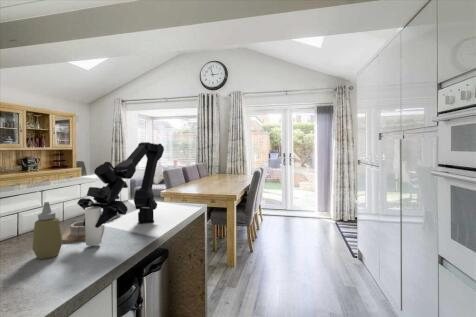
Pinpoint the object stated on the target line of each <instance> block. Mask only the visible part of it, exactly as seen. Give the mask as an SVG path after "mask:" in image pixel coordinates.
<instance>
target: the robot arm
mask: <svg viewBox="0 0 476 317" xmlns="http://www.w3.org/2000/svg"><path fill="white" fill-rule="evenodd" d="M164 151H165V148H164V145H162V143H151V142H149V141H148V142H147V141H145V142H144V141H142V142H139V143H138V145H137V146H136V148H135V149H134V150H133V151H132V152H131V153H130V155H129V156H128V157H127V158H126V159H125V160H123V161H120V162H119V163H118V164H116V165H115V166H113V164H112V163H111V162H110V161H104V163H102V164H99V165H98V166H97V167H95V169H94V175H95V176H96V177H97V178H98V179H99V180H100V181H101V182H102V183H103V184H105V186H102V187H95V186H94V187H93V186H90V187H88V191H87V193H86V197H88V198H86V197H82V198H80V199H79V200H78V201H77V203H76V204H77V205H78V206H79V207H81V209H83V210H84V211H85V208H88V207H95V206H98V207H101V209H102V208H103V212H102V214H101V216H100V218H99V220H98V221H97V223H96V226H95V227H96V228H98V227H100V226H101V225H105V223H107V222H108V220H110V219H111V218H113V217H114V216H117V215H118V214H117V212H118V213H119V214H121V216H123V215H124V216H125V215H126V214H127V213H128V209H129V208H128V206H127V205H126V204H125V203H124V202H123V201H122V200H119V199H120V198H121V197H120V196H119V195H120V193H121V191H122V190H123V189H127V188H128V183H127V181H125V180H130V179H133V177H134V175H135V173H136V171H137V166H138V165H139V163H140V162H141V161H142V159H143V158H144V157H145V156H146V164H145V167H144V168H145V169H144V171H143V172H144V173H143V177H142V182H141V185H140V188H139V189H136V190H135V193H134V196H133V203H134V204H133V205H134V207H135V210H139V211H138V213H137V221H138V222H139V224H149V223H154V222H155V220H154V210H156V209H157V207H158V203H157V201H155V199H154V197H155V194H154V191H153V190H152V189H153V185H154V180H155V176H156V171H157V166H158V162H159V160H161V158H162V157H163V154H164ZM124 179H125V180H124ZM89 197H92V198H93V200H92V199H91V198H89ZM94 201H95V202H94ZM83 221H84V223H83V226H85V217H84V220H83ZM110 221H111V220H110Z"/></svg>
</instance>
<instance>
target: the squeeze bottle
mask: <svg viewBox="0 0 476 317" xmlns="http://www.w3.org/2000/svg"><path fill="white" fill-rule="evenodd" d="M62 236H63V235H62V230H61V224H60V219H59V218H58V217H56V211H52V208H51V205H50V202H49V201H45V202H43V207H42V210H41V212H40V213H38V214H37V220H36V221H34V227H33V239H32V251H33V252H34V254H35V256H36V258H37V259H39V260H45V259H46V260H47V259H50V258H54V257H56V256H58V255H59V254H60V252H61V248H62V246H63V243H62Z"/></svg>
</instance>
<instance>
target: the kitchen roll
mask: <svg viewBox="0 0 476 317" xmlns="http://www.w3.org/2000/svg"><path fill="white" fill-rule="evenodd" d="M101 209H102V208H101V207H98V206H95V207H88V208H85V210H84V218H85V233H86V240H85V246H86V247H93V246H98V245H101V244H102V238H101V226H100V227H98V228H96V227H95V226H96V223H97V221H98V220H99V218H100V216H101Z"/></svg>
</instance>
